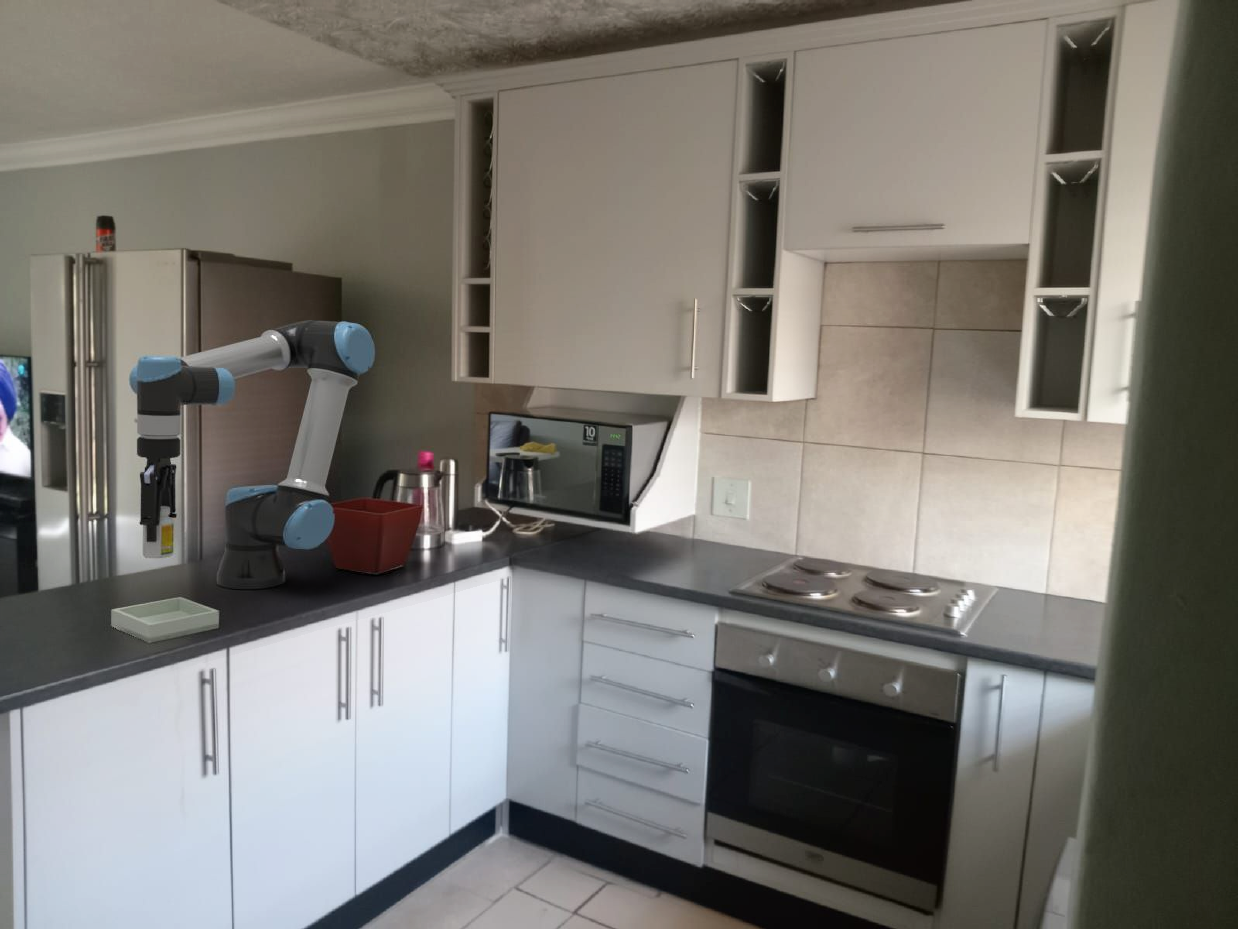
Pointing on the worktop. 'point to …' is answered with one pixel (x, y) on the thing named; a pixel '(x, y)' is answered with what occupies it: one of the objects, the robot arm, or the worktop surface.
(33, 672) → the worktop surface
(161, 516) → the supplement bottle
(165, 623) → the tray
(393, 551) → the plant pot
